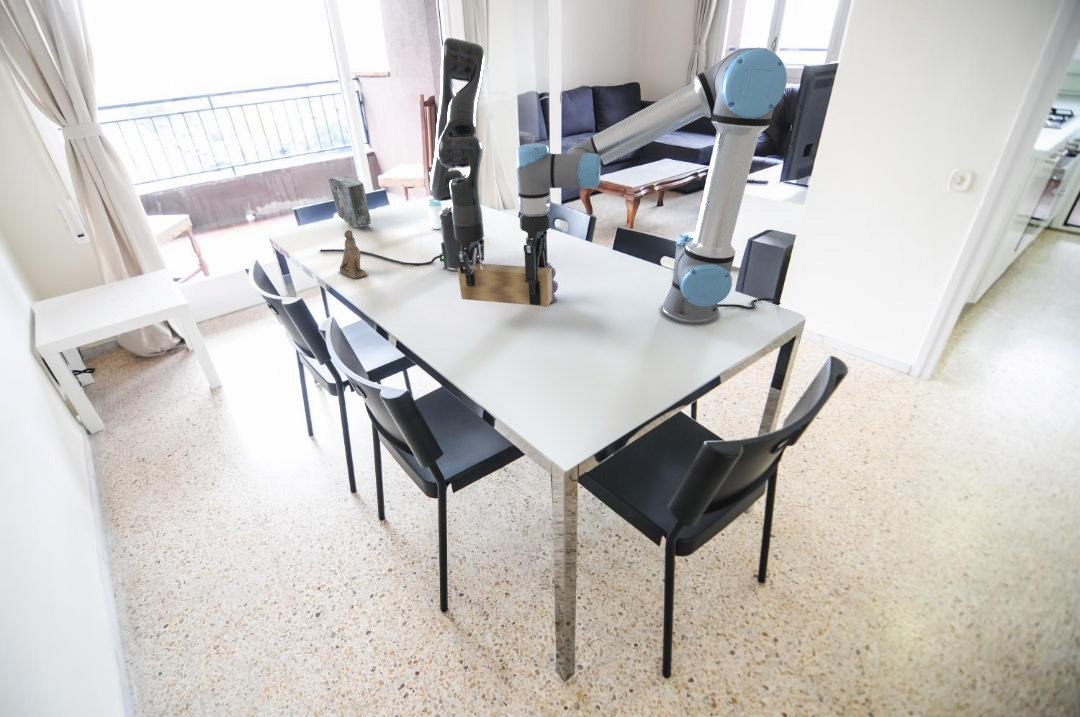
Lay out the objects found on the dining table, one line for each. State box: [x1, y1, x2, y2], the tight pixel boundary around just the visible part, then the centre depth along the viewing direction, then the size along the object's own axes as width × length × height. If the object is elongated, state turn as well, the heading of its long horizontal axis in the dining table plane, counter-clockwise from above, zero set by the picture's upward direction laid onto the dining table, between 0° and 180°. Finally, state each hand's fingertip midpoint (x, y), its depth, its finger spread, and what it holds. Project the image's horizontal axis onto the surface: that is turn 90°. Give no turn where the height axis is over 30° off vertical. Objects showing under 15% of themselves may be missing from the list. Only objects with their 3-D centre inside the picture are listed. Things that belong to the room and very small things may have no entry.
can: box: [426, 198, 445, 230], centre depth 220 cm, size 7×7×12 cm
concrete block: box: [328, 175, 372, 229], centre depth 226 cm, size 27×9×20 cm, turn 36°
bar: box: [457, 263, 552, 307], centre depth 134 cm, size 25×5×9 cm, turn 75°
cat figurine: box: [546, 262, 559, 304], centre depth 151 cm, size 9×8×12 cm
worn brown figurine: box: [339, 229, 367, 280], centre depth 174 cm, size 12×6×18 cm, turn 43°
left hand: (474, 282), depth 136 cm, fingers closed on bar, 4 cm apart
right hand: (538, 299), depth 133 cm, fingers open, 6 cm apart
